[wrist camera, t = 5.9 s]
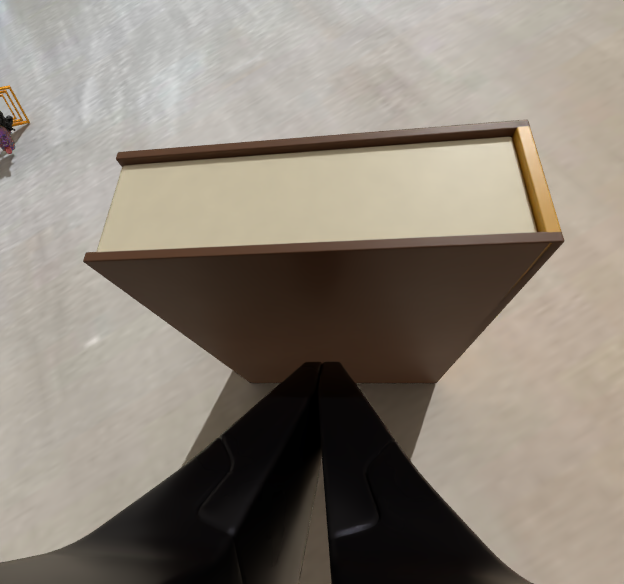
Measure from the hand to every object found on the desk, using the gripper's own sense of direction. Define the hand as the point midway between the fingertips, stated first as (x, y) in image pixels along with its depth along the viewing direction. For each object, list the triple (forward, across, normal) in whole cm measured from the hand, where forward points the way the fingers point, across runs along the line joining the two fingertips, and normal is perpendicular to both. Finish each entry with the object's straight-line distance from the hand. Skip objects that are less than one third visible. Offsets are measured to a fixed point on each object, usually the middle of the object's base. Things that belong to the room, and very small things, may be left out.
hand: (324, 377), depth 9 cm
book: (+7, 0, +3) cm, 8 cm away
